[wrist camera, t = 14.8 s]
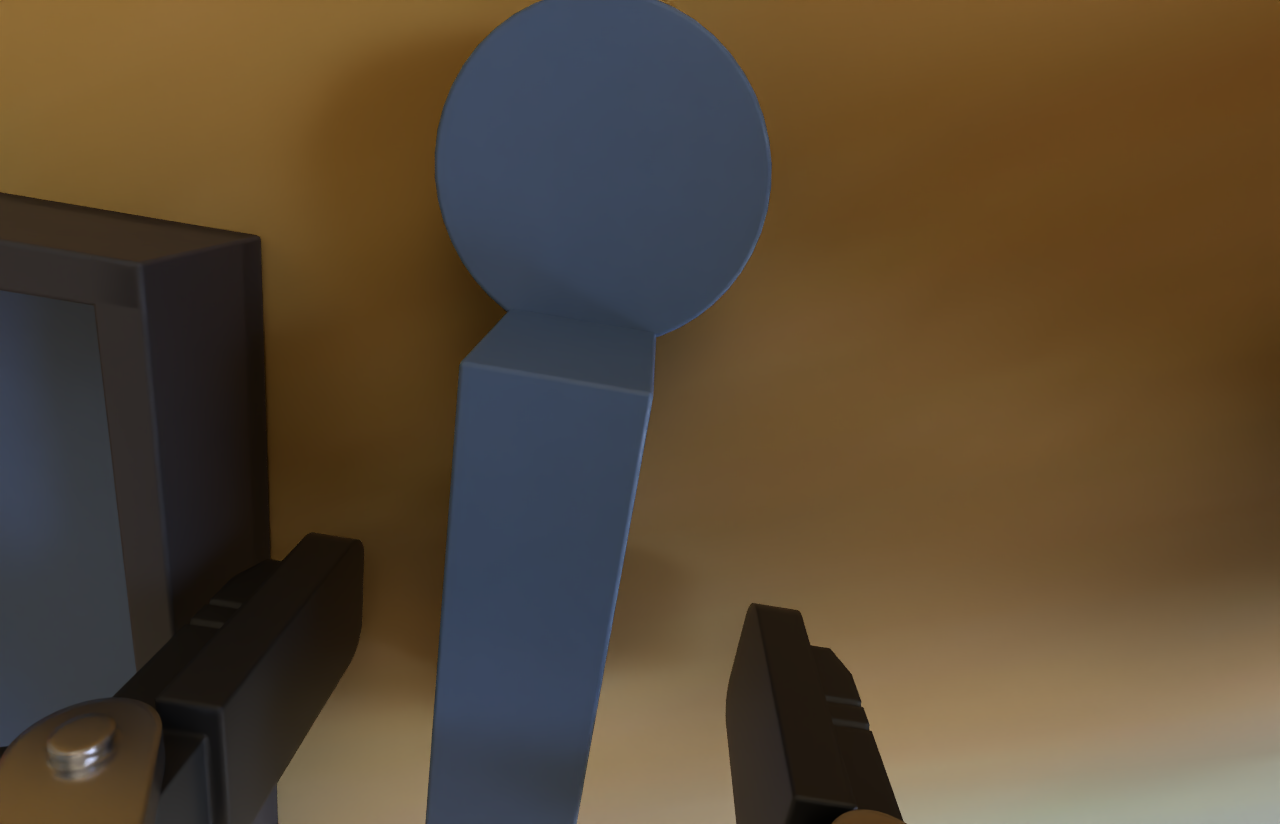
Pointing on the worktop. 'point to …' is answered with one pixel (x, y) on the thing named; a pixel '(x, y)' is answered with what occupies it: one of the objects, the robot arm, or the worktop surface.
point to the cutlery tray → (121, 444)
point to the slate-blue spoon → (569, 360)
